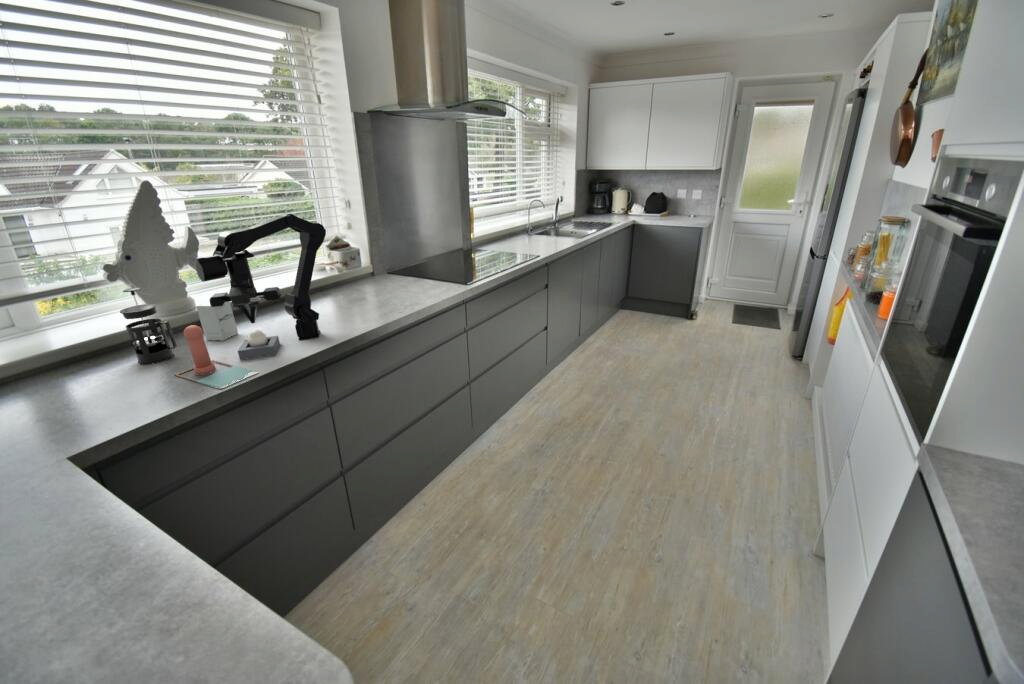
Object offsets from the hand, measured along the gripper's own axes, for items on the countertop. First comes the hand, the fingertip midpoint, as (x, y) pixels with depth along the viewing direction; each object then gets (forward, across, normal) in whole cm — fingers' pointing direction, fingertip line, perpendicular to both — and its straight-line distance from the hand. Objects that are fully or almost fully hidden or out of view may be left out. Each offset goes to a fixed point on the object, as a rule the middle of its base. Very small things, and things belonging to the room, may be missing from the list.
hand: (253, 322), depth 144 cm
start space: (+10, -13, -11) cm, 19 cm away
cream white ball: (+7, 0, 0) cm, 7 cm away
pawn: (+10, -13, -11) cm, 19 cm away
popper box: (+10, 0, 0) cm, 10 cm away
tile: (+10, -5, -18) cm, 22 cm away
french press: (+10, -31, +7) cm, 33 cm away
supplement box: (+10, -16, +21) cm, 28 cm away
